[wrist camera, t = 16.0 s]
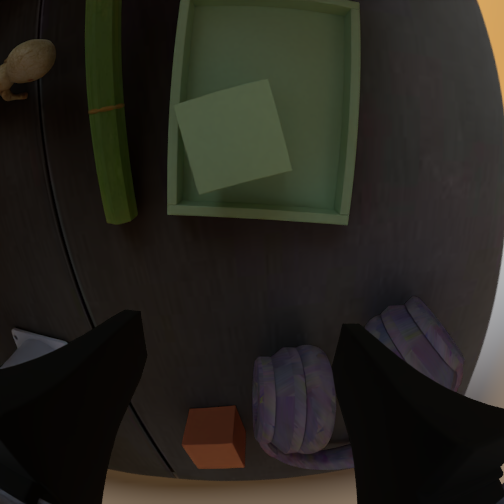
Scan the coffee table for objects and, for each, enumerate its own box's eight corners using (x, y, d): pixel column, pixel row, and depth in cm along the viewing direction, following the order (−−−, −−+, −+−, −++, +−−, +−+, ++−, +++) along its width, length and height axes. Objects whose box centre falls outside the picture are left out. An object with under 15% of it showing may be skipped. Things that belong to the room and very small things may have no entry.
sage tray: (339, 217, 19) (348, 225, 17) (176, 207, 19) (167, 214, 17) (350, 14, 14) (359, 2, 13) (188, 3, 14) (181, -10, 12)
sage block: (284, 164, 18) (293, 170, 14) (212, 183, 18) (198, 195, 14) (265, 93, 16) (268, 78, 12) (192, 113, 17) (173, 105, 13)
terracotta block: (246, 431, 27) (244, 467, 23) (203, 434, 27) (198, 468, 23) (235, 405, 25) (232, 443, 21) (189, 408, 26) (181, 444, 22)
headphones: (210, 344, 22) (292, 443, 31) (203, 441, 15) (300, 502, 24) (438, 254, 19) (435, 389, 28) (504, 324, 12) (461, 443, 21)
